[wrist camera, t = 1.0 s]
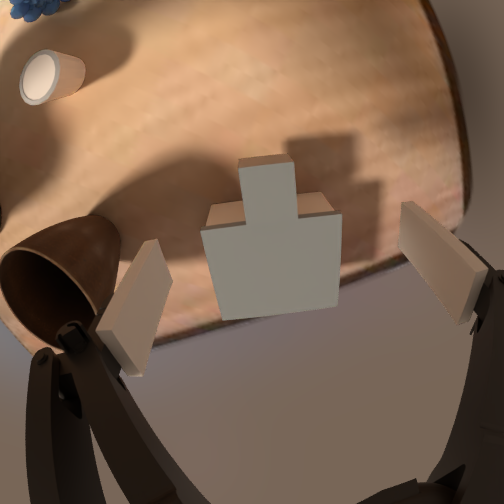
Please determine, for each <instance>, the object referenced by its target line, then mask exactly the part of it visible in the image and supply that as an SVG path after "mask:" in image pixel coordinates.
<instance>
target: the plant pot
mask: <svg viewBox="0 0 504 504" xmlns="http://www.w3.org/2000/svg"><path fill="white" fill-rule="evenodd" d="M119 256H120V237H119V233H118V231H117V229H116V228H115V226H114V225H113V224H112V223H111V222H110V221H109V220H107V219H106V218H104V217H102V216H99V215H89V216H83V217H78V218H74V219H70V220H67V221H64V222H61V223H58V224H55V225H53V226H50V227H48V228H46V229H43V230H41V231H39V232H37V233H35V234H33V235H32V236H30V237H28V238H26V239H25V240H23V241H21V242H20V243H18V244H17V245H15V246H14V247H12V248H10V249H9V250H8V251H6V252H5V253H4V254H3V255H2V257H1V259H0V289H1V292H2V294H3V297H4V299H5V301H6V303H7V305H8V306H9V308H10V310H11V311H12V313H13V314H14V316H15V317H16V318H17V319H18V321H19V322H20V323H21V324H22V325H23V326H24V327H25V328H26V329H27V330H28V331H29V332H30V333H31V334H32V335H34V336H35V337H36V338H38V339H39V340H41V341H42V342H44V343H45V344H47V345H49V346H51V347H53V348H55V349H57V350H60V351H63V349H62V348H61V347H60V345H59V344H58V343H57V341H56V340H55V339H56V334H57V332H58V330H59V329H60V328H61V327H62V326H63V325H65V324H66V323H68V322H70V321H74V320H77V321H80V322H81V323H82V325H83V326H84V328H85V329H86V331H88V329H89V327H90V325H91V323H92V321H93V320H94V318H95V316H96V314H97V312H98V310H100V306H101V305H102V303H103V301H104V300H105V299H106V298H107V297H108V296H109V295H110V294H111V293H114V289H115V284H116V278H117V272H118V265H119ZM63 352H64V351H63Z"/></svg>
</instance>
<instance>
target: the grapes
mask: <svg viewBox="0 0 504 504" xmlns="http://www.w3.org/2000/svg"><path fill="white" fill-rule="evenodd" d="M9 1H10V3H11V4H13V5H14V6H13V7H12V9H11V13H10V14H11V17H12V18H14V19H20V18H22V17H23V18H24V21H26V22H33V21H36V20H37V19H38V18H39V17H40V15H41V13H42V14H44V15H45V16H48V15H52V14H54V13H55V12H56V11H57V10H58V8H59V6H60V1H61V2H67V1H70V0H9Z"/></svg>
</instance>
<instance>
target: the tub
mask: <svg viewBox="0 0 504 504" xmlns="http://www.w3.org/2000/svg"><path fill="white" fill-rule="evenodd" d="M296 195H297V210H298V215H299V214H308V213H318V212H327V211H335V210H334V209H333V207H332V206H331V205H330V203H329V202H328V201H327V199H326V198H325V197H324V195H323V194H322V193H321V192H312V193H302V194H296ZM240 221H246V219H245V212H244V206H243V200H242V201H234V202H227V203H220V204H213V205H211V208H210V212H209V215H208V219H207V222H206V226H210V225H218V224H225V223H233V222H240Z"/></svg>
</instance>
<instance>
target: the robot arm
mask: <svg viewBox="0 0 504 504" xmlns="http://www.w3.org/2000/svg"><path fill="white" fill-rule="evenodd" d="M0 226H1V208H0ZM398 247H399V249H400V250H401V251H402V252H403V253H404V255H405V256H406V257H407V258H408V260H409V261H410V262H411V263H412V265H413V266H414V267H415V268H416V270H417V271H418V272H419V274H420V275H421V276H422V277H423V279H424V280H425V281H426V283H427V284H428V285H429V287H430V288H431V289H432V291H433V292H434V293H435V295H436V296H437V297H438V299H439V300H440V302H441V303H442V304H443V306H444V307H445V309H446V310H447V312H448V313H449V315H450V316H451V318H452V319H453V320H454V322H455V324H456V325H460V324H462V323H465V322H468V321H469V320H470V318H471V315H472V313H473V311H475V313H476V314H477V315H478V316H477V318H476V321H475V323H474V325H473V327H472V329H471V331H470V335H472V333H473V331H474V335H473V342H472V349H471V355H470V361H469V367H468V372H467V376H466V381H465V386H464V389H463V394H462V398H461V402H460V405H459V409H458V412H457V415H456V419H455V422H454V425H453V428H452V431H451V434H450V437H449V440H448V443H447V445H446V448H445V451H444V453H443V455H442V458H441V460H440V461H439V463H438V464H437V466H436V467H435V468H434V470H433V471H432V473H431V475H430V476H429V478H428V480H427V482H420V483H417V480H416V478H415V479H413V480H410V481H408V482H405V483H402V484H399V485H396V486H394V487H391V488H387V489H384V490H382V491H380V492H378V493H376V494H374V495H373V496H371V497H369V498H367V499H365V500H363V501H361V502H359V503H357V504H504V270H497V271H496V270H495V269H494V268H493V267H492V266H491V265H489V263H488V262H487V261H486V260H485V259H484V258H483V257H482V256H480V255H479V254H478V253H477V252H476V251H475V250H474V249H473V248H472V247H471V246H470V245H469V244H467V243H466V242H464V241H462V240H460V239H457V238H456V237H455V236H454V235H453V234H452V233H451V232H450V231H448V230H447V229H446V228H445V227H444V226H443V225H442V224H440V223H439V222H438V221H437V220H436V219H434V218H433V217H432V216H431V215H430V214H428V213H427V212H426V211H425V210H423V209H422V208H421V207H420V206H418V205H417V204H416V203H415V202H413V201H409V202H401V216H400V229H399V239H398ZM172 282H173V280H172V277H171V275H170V272H169V270H168V267H167V264H166V261H165V259H164V256H163V253H162V250H161V248H160V245H159V242H158V239H153V240H148V241H144V243H143V245H142V246H141V248H140V250H139V251H138V253H137V255H136V256H135V258H134V260H133V261H132V263H131V265H130V267H129V268H128V270H127V272H126V273H125V275H124V277H123V279H122V281H121V282H120V284H119V286H118V288H117V290H116V291H115V293H111V294H110V295H109V296H108V297H107V298H106V299H105V300H104V301H103V303H102V305H101V306H100V310H98V312H97V314H96V316H95V318H94V320H93V321H92V323H91V325H90V327H89V329H88V331H86V329H85V328H84V326H83V325H82V323H81V322H80V321H77V320H74V321H70V322H68V323H66V324H65V325H63V326H62V327H61V328H60V329H59V330H58V332H57V334H56V339H55V340H56V341H57V343H58V344H59V345H60V347H61V348H62V349H63V351H64V353H61V354H57V355H56V354H55V353H54V352H53V350H52V349H51V348H49V347H45V348H42V349H40V350H39V351H37V352H36V353H35V355H34V357H33V358H32V361H31V366H30V374H29V383H28V392H27V405H26V433H25V434H26V436H25V437H26V439H25V440H26V467H27V478H28V487H29V495H30V502H31V504H106V501H105V497H104V494H103V490H102V486H101V483H100V478H99V474H98V470H97V465H96V461H95V455H94V450H93V444H92V439H91V433H90V426H91V429H92V431H93V434H94V436H95V438H96V441H97V443H98V445H99V447H100V449H101V452H102V453H103V456H104V458H105V460H106V462H107V464H108V466H109V468H110V470H111V472H112V474H113V475H114V477H115V479H116V481H117V483H118V484H119V486H120V488H121V490H122V491H123V493H124V495H125V496H126V498H127V500H128V501H129V503H130V504H211V503H210V502H209V501H207V499H206V498H205V497H204V496H203V495H202V494H201V493H200V492H199V491H198V489H197V488H196V487H195V486H194V485H193V483H192V482H191V481H190V480H189V479H188V477H187V476H186V475H185V474H184V472H183V471H182V470H181V469H180V467H179V466H178V465H177V463H176V462H175V461H174V459H173V458H172V457H171V455H170V454H169V453H168V451H167V450H166V449H165V447H164V446H163V444H162V443H161V441H160V440H159V439H158V437H157V436H156V434H155V433H154V431H153V430H152V428H151V427H150V425H149V424H148V422H147V421H146V419H145V417H144V416H143V414H142V412H141V411H140V409H139V408H138V406H137V404H136V403H135V401H134V399H133V397H132V396H131V394H130V392H129V390H128V389H127V387H126V385H125V383H124V382H123V380H122V378H121V377H120V376H119V373H120V370H121V368H122V369H123V371H124V372H125V373H126V374H127V376H143V375H144V372H145V368H146V365H147V361H148V358H149V354H150V351H151V347H152V344H153V341H154V337H155V334H156V331H157V327H158V324H159V321H160V318H161V315H162V312H163V309H164V305H165V302H166V299H167V296H168V293H169V290H170V287H171V284H172ZM89 424H90V425H89Z"/></svg>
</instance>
